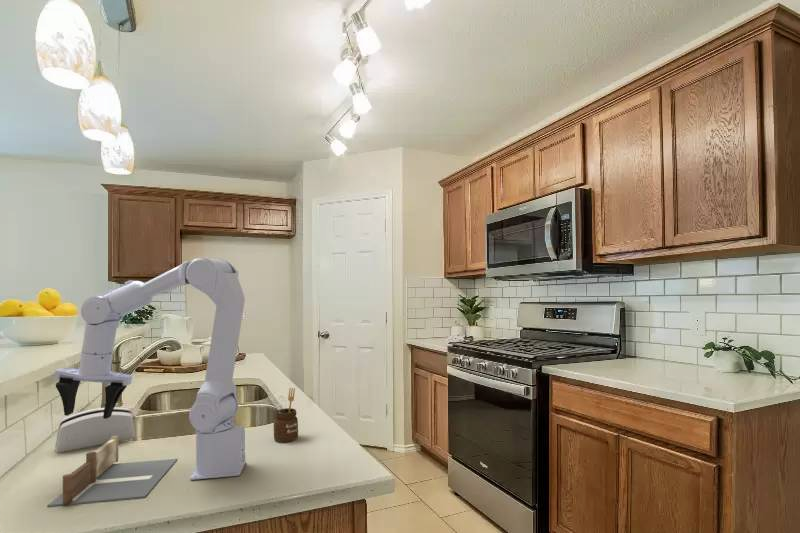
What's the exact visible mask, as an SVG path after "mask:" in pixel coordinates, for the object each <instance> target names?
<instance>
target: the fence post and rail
mask: <svg viewBox="0 0 800 533" xmlns="http://www.w3.org/2000/svg"><path fill="white" fill-rule="evenodd" d="M85 455H86V456H85V462H84V463H83V464H81V465H80V466H79V467H78V468H76V469H75V470H74V471H72V472H71V473H68V474H64V475H62V493H63V505H62V506H63V507H66V506H71V505H70V503H71V502H72V499H73V498H74V497H75V496H76V495H78V494H79V493H80V492H81V491H82V490H84V489H85V488H86V487H87V486H88V485H89V484H92V483H94V482H96V452H94V451H89V452H87V453H86V454H85Z"/></svg>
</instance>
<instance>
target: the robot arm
mask: <svg viewBox="0 0 800 533" xmlns="http://www.w3.org/2000/svg"><path fill="white" fill-rule="evenodd" d="M124 284H125V285H124V286H121V287H119V288H117V289H114V290H113V289H111V290H108V291H105V294H104V295H103V296H99V295H90V297H89V298H87V299H85V300H84V301H83V302H82V305H81V308H80V314H81V315H80V316H81V317H82V320H84V321H85V326H84V333H83V340H82V346H81V347H82V348H81V354H80V359H79V360H80V361H79V364H78V365H79V366H78V367H79V368H58V369H55V370H54V374H53V375H54V376H53V380H57V382H56V383H55V388H56V390H57V391H58V393H59V396H60V398H61V401H62V406H63V412H64V416H66V417H68V416H71V415H73V413H74V410H75V407H76V398H77V393H78V389H79V385H80V384H81V382H90V383H101V384H109V385H107V386H105V387H104V391H105V392H104V394H105V395H104V396H105V398H104V399H105V401H104V402H105V403H104V407H103V408H104V414H103V419H107V418H109V417H110V416H111V415H112V412H113V409H114V407H115V406H116V405H117V402H118V400H119V399H120V397H121V396H122V394H123V392H124V391H125V390H126V388H127V387H128V386H130V385H131V384H132V382H133V381H132V378H133V374H127V373H123V372H122V373H121V372H116V371H112V370H111V368H112V362H113V356H114V355H113V354H114V350H115V349H114V348H115V341H116V336H117V335H116V334H117V330H118V328H119V325H120V322H121V320H122V319H124V318H125V316H127V315H129V314H131V313H133V312H136V311H138V310H140V309H142V308H145V307H147V306H149V305H150V304H151V303H152V300H153V297H156V296H158V295H160V294H163V293H165V292H168V291H171V290H173V289H176V288H178V287H180V286H183V285H191V286H192V287H194V289H197V290H199V291H200V292H202V293H203V294H205V295H206V296H207V297H208V298H209V299H211V301H212V302H213V303H214V304H215V306H216V307H215V311H214V312H215V313H214V320H213V326H212V331H211V332H212V333H211V338H210V344H209V350H208V358H207V365H206V370H205V378H204V381H203V383H202V385H201V386H200V388H199V390H198V391H197V393H196V398H195V402H194V403H193V404H192V406H191V407H190V410H189V413H188V418H189V419H188V420H189V422H190V425H191V426H192V427H193V428H194V430H195V451H196V452H195V460H196V461H195V466H196V468H195V469H194V471H193V473H192V474H191V475H190V477H189V480H190V481H193V480H194V481H195V480H206V479H215V478H227V477H236V476H237V477H238V476H240V475H241V474H242V471H243V469H244V468H245V467H244V466H245V464H246V462H247V461H246V431H245V430H246V429H245V426H244V425H234V416H236V414H237V411H238V409H239V400H238V398H237V386H236V384H235V383H234V381H233V379H234V373H235V372H234V371H235V365H236V361H237V360H236V358H237V354H238V346H239V340H240V338H239V337H240V332H241V327H242V320H243V314H244V309H245V308H244V307H245V299H246V298H245V294H244V292H243V289H242V285H241V282H240V280H239V271H238V270H237V269H236V268H235V266H234V265H233V264H231V262H229V261H228V260H225V259H216V258H215V259H214V258H207V257H202V256H200V257H196V258H194V259H192V260H187V261H184V262H183V263H181V264H180V265H178V266H176V267H174V268H171V269H170V270H168V271H166V272H163V273H162V274H159V275H158V276H156V277H154V278H152V279H150V280H148V281H146V282H143V281H140V280H127V281H125V282H124Z"/></svg>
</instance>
